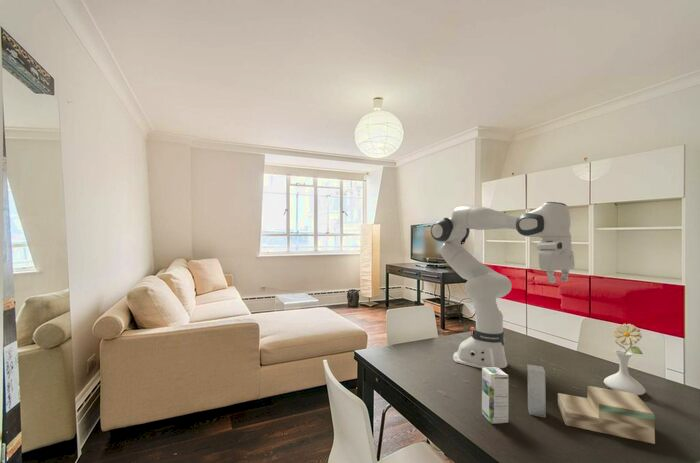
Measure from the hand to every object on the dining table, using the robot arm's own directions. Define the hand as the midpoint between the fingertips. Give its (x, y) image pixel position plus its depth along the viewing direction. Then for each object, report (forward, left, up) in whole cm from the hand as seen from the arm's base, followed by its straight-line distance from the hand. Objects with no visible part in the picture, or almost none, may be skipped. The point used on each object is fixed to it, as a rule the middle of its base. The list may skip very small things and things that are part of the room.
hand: (558, 282), depth 114 cm
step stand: (+7, -19, -39) cm, 44 cm away
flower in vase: (+21, +8, -39) cm, 45 cm away
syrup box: (-22, -30, -39) cm, 54 cm away
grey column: (-10, -21, -39) cm, 46 cm away
